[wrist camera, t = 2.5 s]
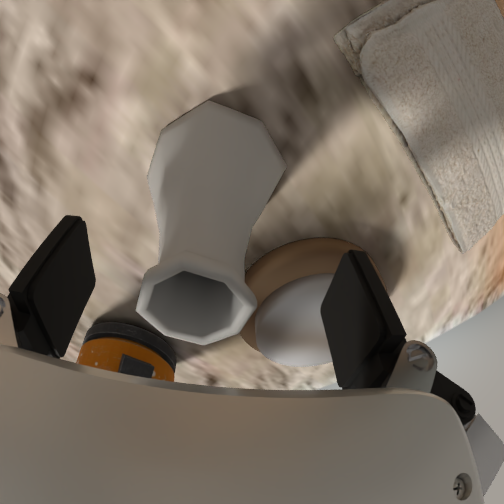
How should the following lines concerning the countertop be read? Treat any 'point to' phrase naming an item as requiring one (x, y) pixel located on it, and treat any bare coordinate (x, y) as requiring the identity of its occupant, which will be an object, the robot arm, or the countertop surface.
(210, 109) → the flask
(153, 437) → the robot arm
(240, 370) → the countertop surface
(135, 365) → the canister
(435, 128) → the washcloth
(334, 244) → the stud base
